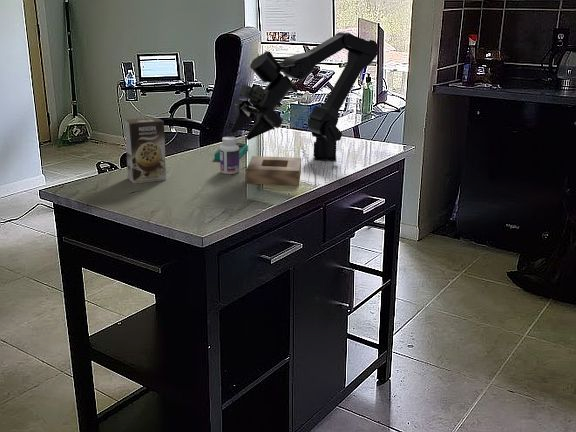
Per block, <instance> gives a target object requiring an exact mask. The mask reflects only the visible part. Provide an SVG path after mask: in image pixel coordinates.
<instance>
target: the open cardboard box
mask: <svg viewBox="0 0 576 432" xmlns="http://www.w3.org/2000/svg"><path fill="white" fill-rule="evenodd" d="M245 171H246V173H245V174H246V175H245V176H246V181H245V182H246V184H249V185H253V184H254V185H274V186H275V185H276V186H280V185H281V186H300V182H301V174H302V157H291V156H289V157H288V156H286V157H285V156H265V155H264V156H261V155H260V156H259V155H252V156H251V158H250V161H249V163H248V164H247V167H246V170H245Z"/></svg>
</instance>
